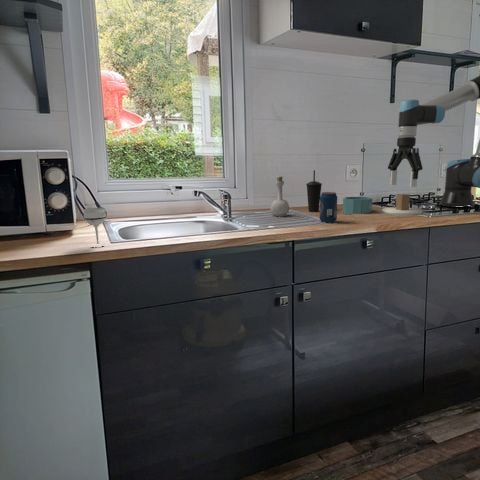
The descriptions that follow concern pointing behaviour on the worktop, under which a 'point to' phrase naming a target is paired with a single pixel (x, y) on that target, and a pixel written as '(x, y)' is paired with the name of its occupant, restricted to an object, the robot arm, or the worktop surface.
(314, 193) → the drinking cup
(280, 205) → the potion bottle
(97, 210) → the wineglass
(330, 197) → the soda can
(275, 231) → the worktop surface
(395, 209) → the lid
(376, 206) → the worktop surface
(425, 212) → the mat
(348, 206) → the bowl
